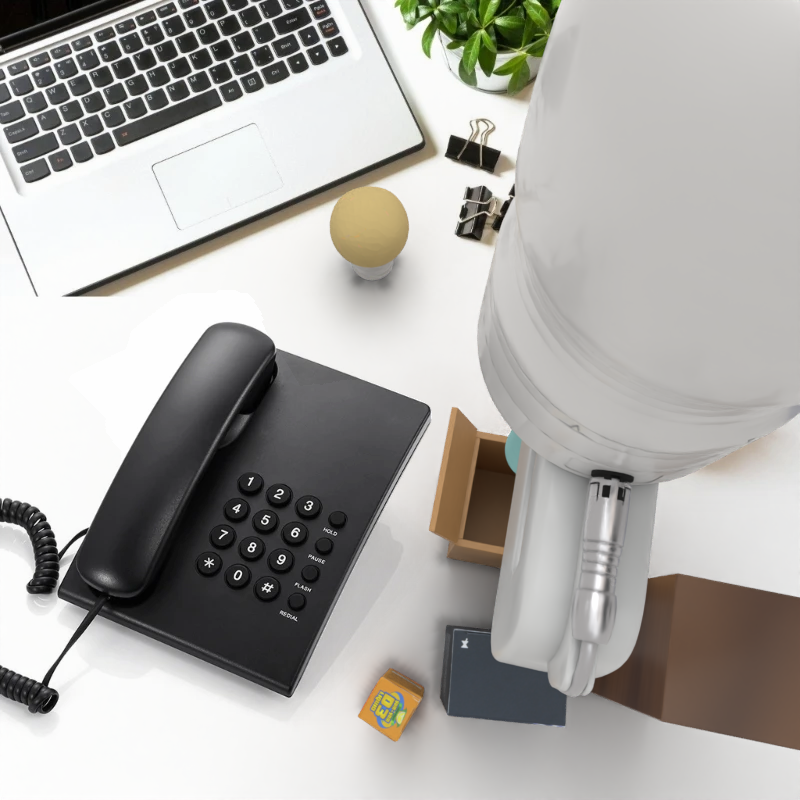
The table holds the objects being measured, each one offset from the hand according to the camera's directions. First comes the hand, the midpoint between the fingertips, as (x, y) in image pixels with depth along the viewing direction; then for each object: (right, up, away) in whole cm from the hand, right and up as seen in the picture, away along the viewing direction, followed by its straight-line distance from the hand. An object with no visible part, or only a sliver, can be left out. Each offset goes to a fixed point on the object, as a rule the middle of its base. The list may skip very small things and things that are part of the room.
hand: (551, 432), depth 36 cm
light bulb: (-9, +14, +35) cm, 39 cm away
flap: (-3, -4, +15) cm, 16 cm away
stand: (+10, -18, +26) cm, 33 cm away
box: (0, -19, +26) cm, 33 cm away
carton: (+3, -8, +29) cm, 30 cm away
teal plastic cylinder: (0, -1, +4) cm, 4 cm away
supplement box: (-7, -21, +26) cm, 34 cm away
